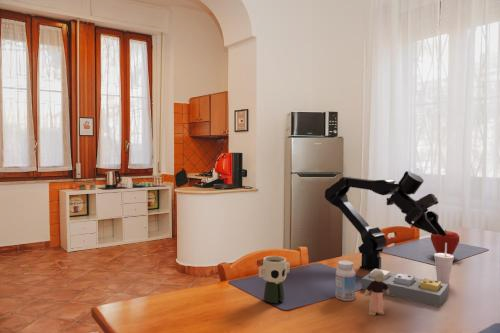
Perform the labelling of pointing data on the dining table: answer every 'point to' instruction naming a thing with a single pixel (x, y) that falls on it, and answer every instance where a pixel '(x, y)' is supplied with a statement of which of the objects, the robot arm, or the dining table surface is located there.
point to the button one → (386, 274)
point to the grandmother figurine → (376, 293)
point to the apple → (440, 241)
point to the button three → (430, 284)
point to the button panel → (411, 290)
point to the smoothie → (443, 266)
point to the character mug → (274, 277)
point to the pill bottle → (345, 281)
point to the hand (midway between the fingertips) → (441, 234)
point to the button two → (404, 279)
